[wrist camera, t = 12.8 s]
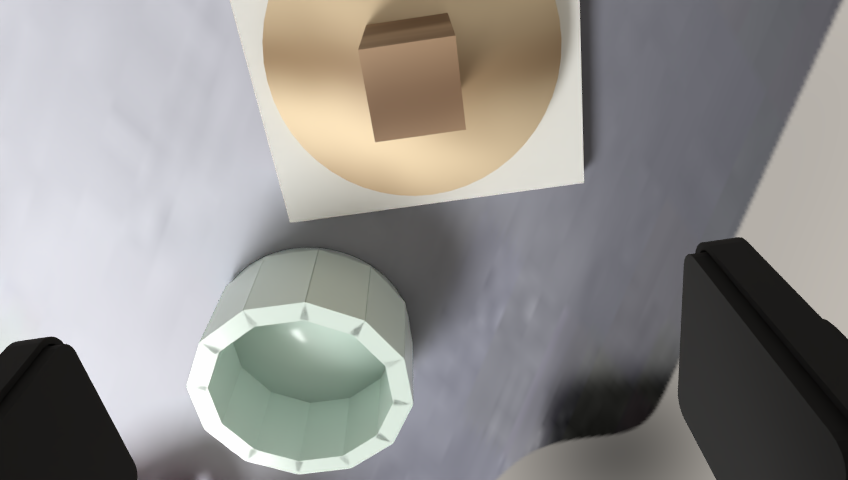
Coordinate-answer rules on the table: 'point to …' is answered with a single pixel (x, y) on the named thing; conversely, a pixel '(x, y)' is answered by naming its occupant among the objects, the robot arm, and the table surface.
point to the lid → (412, 85)
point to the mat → (334, 196)
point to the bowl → (305, 363)
